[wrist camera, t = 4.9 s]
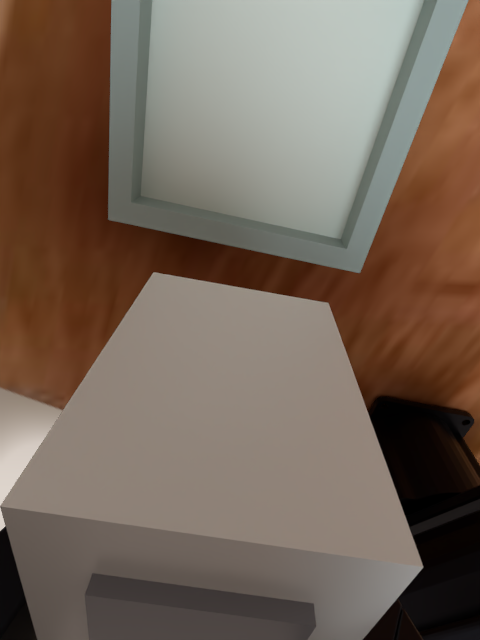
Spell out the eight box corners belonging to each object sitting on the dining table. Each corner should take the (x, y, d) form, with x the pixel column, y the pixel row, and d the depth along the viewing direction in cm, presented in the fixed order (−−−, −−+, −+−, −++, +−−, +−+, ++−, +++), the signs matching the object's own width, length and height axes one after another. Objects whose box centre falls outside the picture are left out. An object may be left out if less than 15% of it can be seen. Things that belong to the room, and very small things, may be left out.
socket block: (328, 303, 8) (431, 590, 3) (259, 509, 12) (259, 777, 7) (153, 272, 8) (-13, 527, 3) (141, 491, 12) (60, 754, 7)
